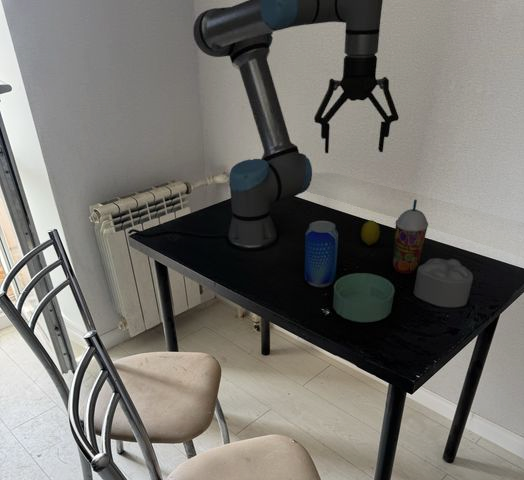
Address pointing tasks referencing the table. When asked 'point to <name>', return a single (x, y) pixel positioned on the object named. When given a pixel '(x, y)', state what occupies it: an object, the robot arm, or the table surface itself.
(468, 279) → the lumpy-topped squat cylinder
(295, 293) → the table surface
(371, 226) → the lemon
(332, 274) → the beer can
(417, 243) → the smoothie
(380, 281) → the pale green round tub
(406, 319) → the table surface
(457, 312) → the table surface
